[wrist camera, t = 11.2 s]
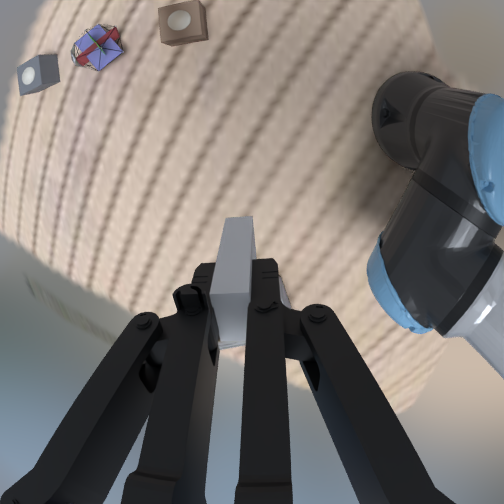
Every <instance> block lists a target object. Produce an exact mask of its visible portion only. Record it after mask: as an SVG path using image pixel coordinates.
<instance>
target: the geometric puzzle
mask: <svg viewBox="0 0 504 504" xmlns="http://www.w3.org/2000/svg"><path fill="white" fill-rule="evenodd" d="M101 25H102V24H100V25H99V24H98V25H97V26H96V25H95V27H94V28H93V29H88V30H90V31H89V32H87V31H86V30H87V29H86V30H85V31H86V32H87V33H86V34H85V35H84V36H83V37H81V38H80V39H79V38H78V39H79V40H78V41H77V42H75V43H74V46H73V48H72V50H71V57H72V60H73V62H74V64H75V66H80V67H85V66H84V65H85V64H86V63H88V62H89V61H90V62H91V63H92V64H93V65H94V66H95V68H96V69H97V71H98V72H99V71H100V70H101V69H102V68H104V67H105V66H106V65H107V64H109V63H111V61H112V60H114V59H115V58H116V57H117V56H119V55H120V54H121V53H122V52H124V51H122V50H123V48H122V50H121V49H120V47H119V46H118V45H117V44H116V43H115V42H114V41H115V40H116V39H118V38H120V36H119V33H118V30H117V28H116V26H112V27H114V28H113V29H111V30H109V32H107V33H106V32H105V31H104V30H103V29H102V28H101ZM109 26H111V25H109ZM102 27H103V26H102ZM103 28H105V29H106V27H103ZM107 30H108V29H107ZM84 33H85V32H84ZM82 34H83V33H82ZM119 40H120V41H121V39H118V41H119ZM117 43H118V42H117ZM120 43H121V42H120ZM75 44H76V45H77V46H78V49H80V50H81V51H82V53H81V54H80V55H79V54H78V55H79V56H78V57H77V58H76V57H75V46H76V45H75ZM121 45H122V44H121ZM121 47H122V46H121ZM76 49H77V48H76ZM77 52H78V51H77ZM76 55H77V54H76ZM88 66H89V67H90V66H91V65H88ZM85 68H86V67H85ZM91 68H92V67H91ZM93 69H94V68H93ZM93 69H92V70H93ZM96 69H95V70H96Z"/></svg>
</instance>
